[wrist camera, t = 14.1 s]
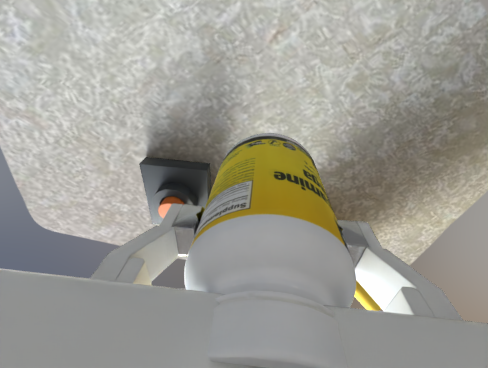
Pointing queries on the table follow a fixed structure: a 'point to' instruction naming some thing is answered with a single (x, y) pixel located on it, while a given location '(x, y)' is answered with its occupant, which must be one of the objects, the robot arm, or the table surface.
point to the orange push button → (168, 205)
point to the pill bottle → (272, 259)
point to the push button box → (175, 183)
